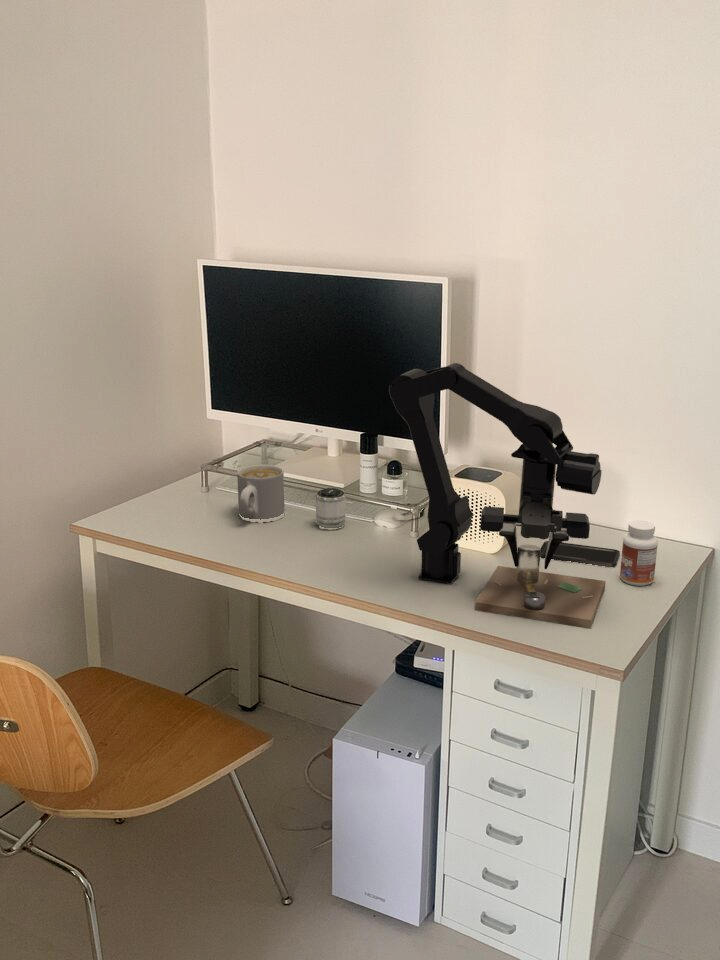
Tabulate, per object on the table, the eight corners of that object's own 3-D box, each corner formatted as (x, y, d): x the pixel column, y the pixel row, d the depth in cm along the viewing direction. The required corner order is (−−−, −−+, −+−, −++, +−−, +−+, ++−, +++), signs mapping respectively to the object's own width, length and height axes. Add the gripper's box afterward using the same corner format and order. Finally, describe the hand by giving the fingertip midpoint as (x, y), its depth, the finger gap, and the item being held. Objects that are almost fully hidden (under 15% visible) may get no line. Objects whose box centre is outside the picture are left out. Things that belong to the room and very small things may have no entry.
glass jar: (311, 528, 215) (310, 493, 213) (323, 519, 221) (323, 484, 218) (338, 532, 213) (338, 497, 211) (350, 522, 219) (350, 488, 216)
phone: (545, 540, 207) (620, 550, 202) (544, 545, 207) (620, 555, 202) (537, 554, 200) (615, 564, 195) (537, 559, 200) (614, 570, 195)
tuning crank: (547, 609, 174) (550, 570, 172) (524, 609, 174) (526, 571, 172) (535, 577, 187) (537, 541, 185) (513, 577, 187) (515, 541, 185)
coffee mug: (257, 504, 230) (256, 462, 227) (293, 512, 225) (292, 469, 222) (219, 522, 219) (217, 478, 216) (256, 531, 214) (254, 486, 211)
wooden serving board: (474, 609, 178) (475, 601, 178) (497, 573, 193) (498, 564, 193) (590, 628, 171) (591, 619, 171) (604, 588, 187) (605, 580, 186)
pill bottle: (614, 573, 193) (619, 518, 189) (646, 572, 193) (651, 517, 190) (626, 587, 187) (631, 531, 183) (658, 586, 188) (664, 529, 184)
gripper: (482, 495, 171) (476, 580, 176) (595, 503, 169) (586, 589, 173) (484, 475, 182) (478, 556, 186) (591, 482, 179) (582, 564, 184)
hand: (530, 567), depth 182 cm, fingers open, 5 cm apart
